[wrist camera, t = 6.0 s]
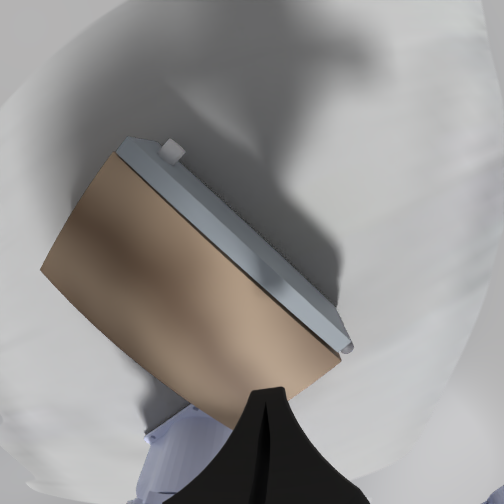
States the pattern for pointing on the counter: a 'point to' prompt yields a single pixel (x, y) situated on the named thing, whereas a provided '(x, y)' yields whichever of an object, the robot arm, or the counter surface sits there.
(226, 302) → the cabinet
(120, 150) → the door
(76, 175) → the counter surface
